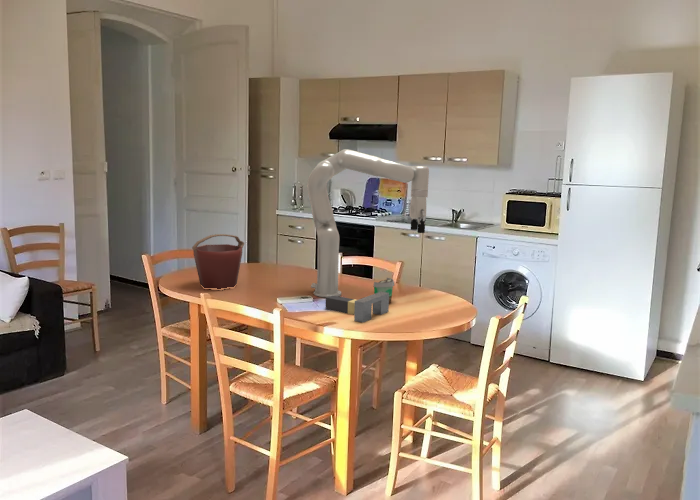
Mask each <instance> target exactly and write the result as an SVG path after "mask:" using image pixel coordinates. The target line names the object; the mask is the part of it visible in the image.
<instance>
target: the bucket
mask: <svg viewBox="0 0 700 500" xmlns="http://www.w3.org/2000/svg"><path fill="white" fill-rule="evenodd" d="M216 237H230V238H234V239H235V241H236V242H237V243H238V244H237V245H236V244H235V245H233V244H228V243H227V244H222V243H221V244H220V243H219V244H203V245H200V244H201V243H203V242H205V241H207V240H209V239H211V238H216ZM199 245H200V246H199ZM244 245H245V242H244V241H242V240H240V238H239V236H238V235H233V234H225V233H217V234H216V233H215V234H210V235H207V236H205V237H203V238H201V239H200V240H198V241H196V242H195V243H194V244H193V246H192V247H191V248H192V250H193V257H194V263H195V267H196V272H197V276H198V281H199V285H200V284H201V285H202V286H203V287H204V288H217V289H221V288H227V287H234V286H235V285H236V284H238V278H239V274H240V268H241V262H242V256H243V248H244ZM236 286H237V285H236Z"/></svg>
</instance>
